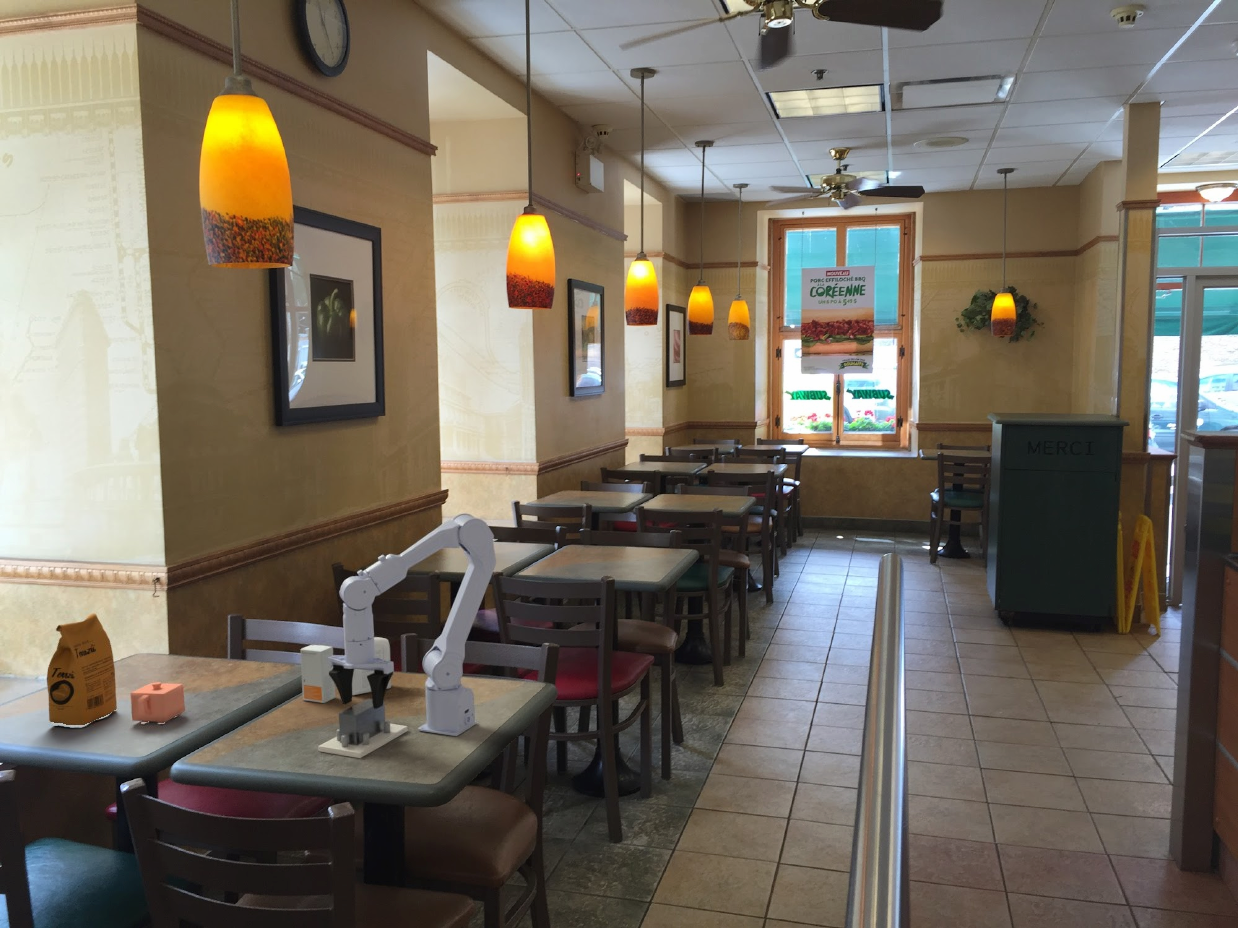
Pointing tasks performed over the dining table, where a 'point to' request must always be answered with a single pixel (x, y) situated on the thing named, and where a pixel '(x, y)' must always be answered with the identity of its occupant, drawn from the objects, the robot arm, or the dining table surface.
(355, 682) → the photo printer
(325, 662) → the skincare box
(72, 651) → the coffee package
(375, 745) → the pin tray
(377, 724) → the block
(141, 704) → the pink cube teapot
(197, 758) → the dining table surface
